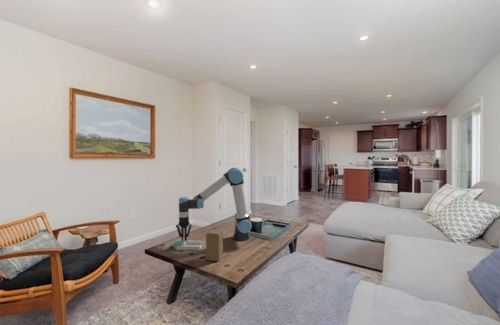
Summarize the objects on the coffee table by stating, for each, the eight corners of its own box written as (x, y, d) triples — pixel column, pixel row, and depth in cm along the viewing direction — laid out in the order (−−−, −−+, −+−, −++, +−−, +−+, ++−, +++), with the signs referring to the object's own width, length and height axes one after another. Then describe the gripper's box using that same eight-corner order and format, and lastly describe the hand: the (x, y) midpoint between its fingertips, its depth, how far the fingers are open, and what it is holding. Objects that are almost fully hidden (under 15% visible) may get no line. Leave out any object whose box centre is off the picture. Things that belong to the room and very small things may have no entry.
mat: (180, 244, 190) (180, 244, 190) (176, 250, 179) (176, 250, 179) (171, 244, 190) (171, 244, 190) (166, 250, 179) (166, 250, 179)
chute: (202, 244, 191) (202, 240, 191) (199, 250, 179) (199, 246, 179) (181, 244, 191) (181, 240, 191) (176, 250, 179) (176, 246, 179)
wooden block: (219, 261, 161) (218, 234, 160) (205, 260, 163) (205, 233, 162) (223, 255, 171) (223, 229, 170) (210, 254, 173) (210, 228, 172)
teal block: (184, 245, 188) (184, 239, 188) (182, 248, 181) (182, 242, 181) (176, 245, 188) (176, 239, 188) (174, 248, 181) (173, 242, 181)
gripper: (193, 215, 187) (193, 243, 188) (177, 215, 187) (177, 243, 188) (190, 217, 180) (191, 246, 181) (174, 217, 180) (174, 246, 181)
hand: (184, 245), depth 185 cm, fingers closed
